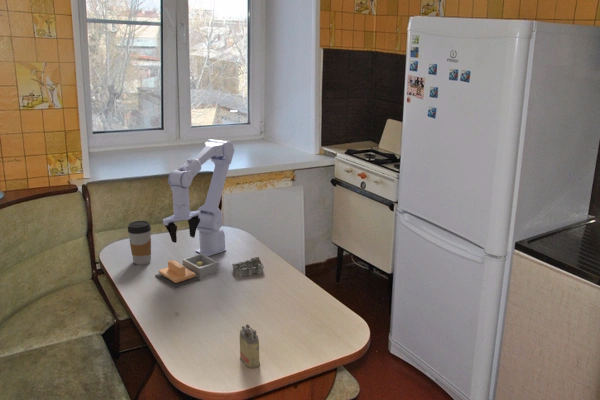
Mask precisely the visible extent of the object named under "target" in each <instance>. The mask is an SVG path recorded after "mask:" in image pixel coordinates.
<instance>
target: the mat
mask: <svg viewBox="0 0 600 400" xmlns="http://www.w3.org/2000/svg"><path fill="white" fill-rule="evenodd" d="M154 276H155V277H156V278H157V279H158V280H160V281H161V282H163V283H165V284H167V285H168V286H170V287H172V288H173V289H178V288H181V287H184V286H187V285H189V284H192V283H195V282H198V281H200V280H201V278H200V277H198V276H194V277H191V278H190V279H187V280H184V281H181V282H178V283H175V282H173V281H171V280H170V279H168V278H166V277H165V276H163V275H161V274H160V273H157V274H155V275H154Z"/></svg>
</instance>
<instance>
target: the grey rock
mask: <svg viewBox="0 0 600 400" xmlns="http://www.w3.org/2000/svg"><path fill="white" fill-rule="evenodd" d="M231 266H232V271H233V273H234V275H235V276H236V277H240V278H241V277H244V276H245V275H248V276H253V274H258V275H261V274H262V273H263V272H264V265H263V263H262V261H261V259H260V256H255V257H252V258H250V259H249V260H246V261H245V260H244V261H240V262H236V263H231Z"/></svg>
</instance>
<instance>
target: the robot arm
mask: <svg viewBox="0 0 600 400" xmlns="http://www.w3.org/2000/svg"><path fill="white" fill-rule="evenodd" d="M234 153H235V149H234V144H233V142H232V141H231V140H221V139H212V138H209V139H207V140H206V141H205V142H204V144H203V148H202V149H201V150H200V152H199V153H198V154H197V155H196V156H195V157H194V158H193V157H191V158H188V159H187V160H186V161H185V163H183V164H182V165H181V166H180V167H178V169H174V170H172V171H171V172H169V174H168V179H167V183H168V185H169V186H170V191H172V206H173V207H172V208H173V210H172V211H173V214H172V215H170V216H168V217H165V218H163V219H162V224H163V225H164V226H165V228H166V230H167V232H168V234H169V236H170V239H171V242H173V243H177V241H178V240H177V239H178V238H177V237H178V236H177V233H178V232H177V231H178V225H176V223H178V222H182V221H187V224H188V229H189V230H188V231H189V237H191V238H193V239H194V238H195V236H196V232H197V231H198V236H199V248H198V249H197V248H196V249H195V252H196V253H198V254H203V255H205V256H207V257H210V256H212V255H216V254H219V253H222V252H223V253H224V252H225V251H227V248H226V235H225V231H224V229H223V228H222V225H223V215H224V213H223V212H222V210H221V209H220V208H219V205H220V202H221V198H222V194H223V191H224V187H225V182H226V179H227V175H228V172H229V168H230V165H231V164H232V160H233V156H234ZM209 160H211V161H210V162H212V163H213V164H214V167H213V168H214V169H213V173H212V176H211V180H210V184H209V187H208V191H207V195H206V198H205V201H204V202H205V203H204V204H203V205H201V206H200V207H198V208H197V210H193V211H191V208H190V206H191V205H190V189H189V187H190V186H191V185H192V181H193V180H194V178H195V177H196V175H197V174H198V173H199V172H201V170H202V165H203V164H205V163H207V162H208V161H209Z"/></svg>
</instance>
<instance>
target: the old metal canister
mask: <svg viewBox="0 0 600 400" xmlns="http://www.w3.org/2000/svg"><path fill="white" fill-rule="evenodd" d="M239 354H240V355H239V360H241V361H242V362H243V363H244V364H245V365H246V366H247V368H251V369H252V368H253V369H254V368H258V367H259V366H260V365H261V364H260V341H259V336H258V335H257V330H255V329H253V328H252V327H250V325H249V324H248V323H247V324H245V326H244V325H242V326H241V329H240V331H239Z"/></svg>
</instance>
